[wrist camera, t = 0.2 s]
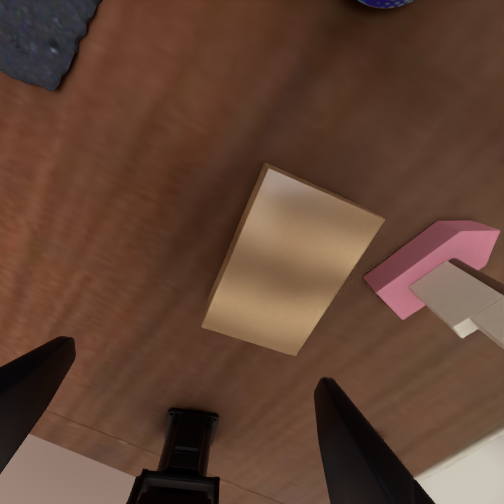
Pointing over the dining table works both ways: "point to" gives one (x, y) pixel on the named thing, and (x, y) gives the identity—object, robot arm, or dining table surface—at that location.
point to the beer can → (385, 3)
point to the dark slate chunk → (41, 38)
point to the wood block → (287, 261)
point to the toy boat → (445, 278)
